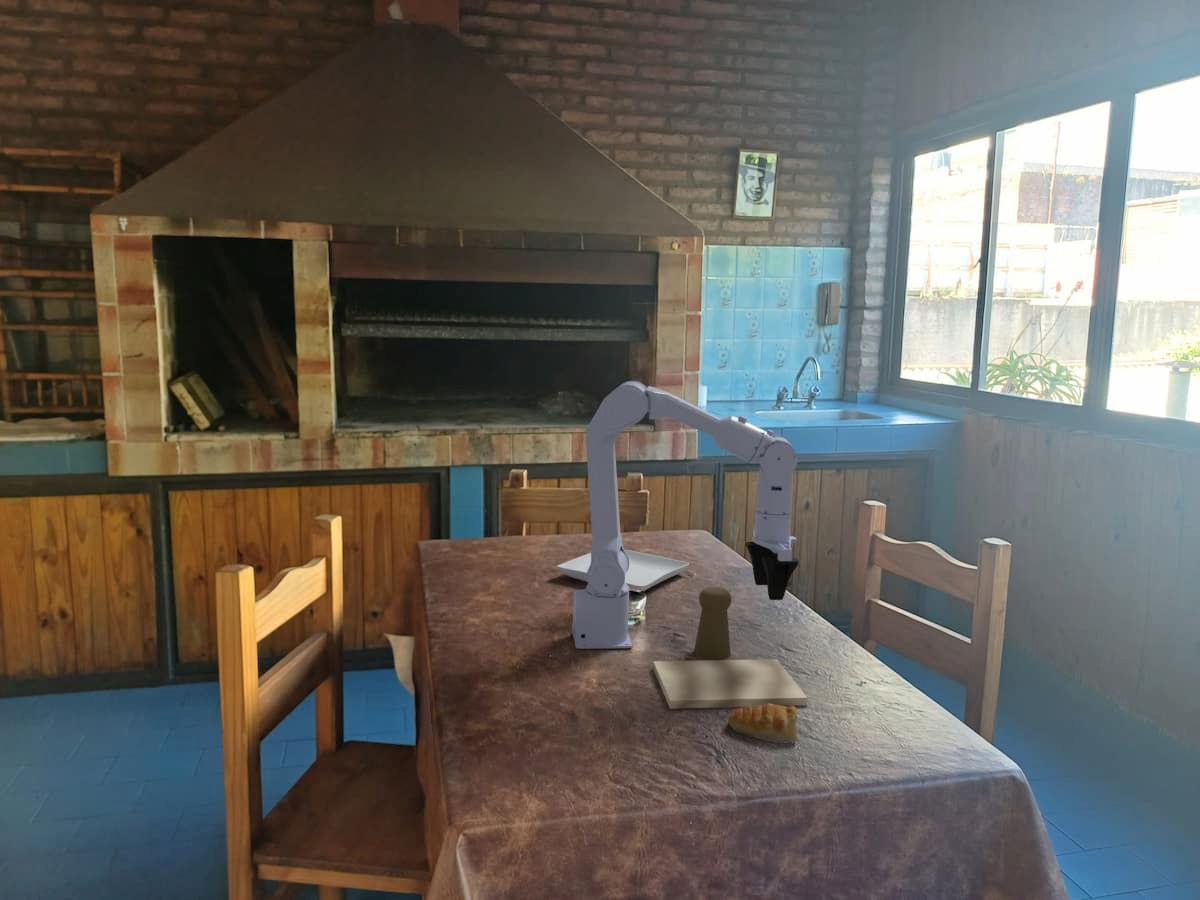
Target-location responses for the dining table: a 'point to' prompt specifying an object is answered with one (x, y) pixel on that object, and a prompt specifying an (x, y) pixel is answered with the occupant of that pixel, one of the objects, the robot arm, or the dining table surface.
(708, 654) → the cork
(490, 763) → the dining table surface
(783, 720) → the pastry
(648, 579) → the salad plate
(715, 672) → the birch board
